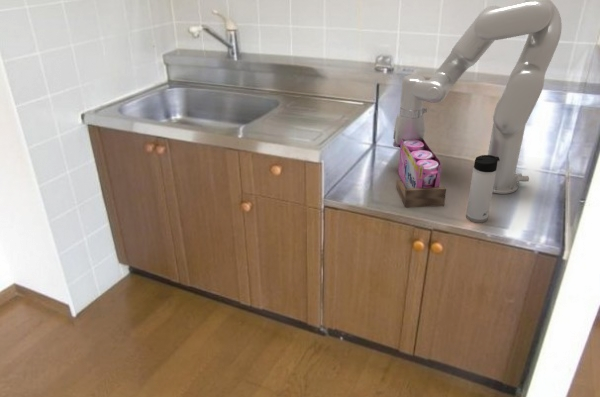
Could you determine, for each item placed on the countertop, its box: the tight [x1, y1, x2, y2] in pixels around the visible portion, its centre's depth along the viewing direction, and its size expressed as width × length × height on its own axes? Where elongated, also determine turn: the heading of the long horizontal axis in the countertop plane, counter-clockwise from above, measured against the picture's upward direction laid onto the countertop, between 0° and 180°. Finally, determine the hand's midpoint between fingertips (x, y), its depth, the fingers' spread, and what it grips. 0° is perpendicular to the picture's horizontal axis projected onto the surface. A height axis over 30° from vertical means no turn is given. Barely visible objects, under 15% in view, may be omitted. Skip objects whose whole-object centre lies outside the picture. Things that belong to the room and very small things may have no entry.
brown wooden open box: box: [395, 179, 447, 208], centre depth 162 cm, size 12×14×6 cm
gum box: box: [398, 138, 442, 189], centre depth 165 cm, size 24×8×14 cm, turn 3°
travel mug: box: [465, 154, 500, 224], centre depth 145 cm, size 6×7×20 cm
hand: (406, 161), depth 178 cm, fingers closed
